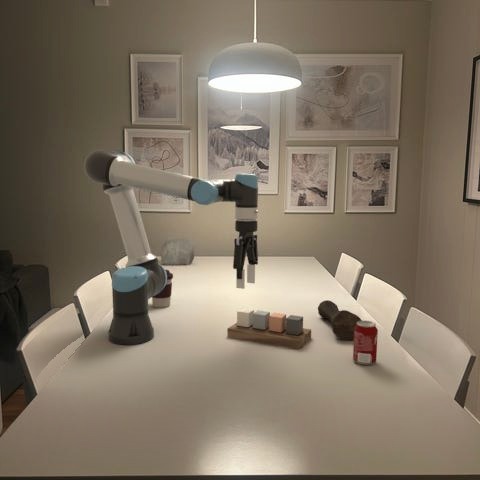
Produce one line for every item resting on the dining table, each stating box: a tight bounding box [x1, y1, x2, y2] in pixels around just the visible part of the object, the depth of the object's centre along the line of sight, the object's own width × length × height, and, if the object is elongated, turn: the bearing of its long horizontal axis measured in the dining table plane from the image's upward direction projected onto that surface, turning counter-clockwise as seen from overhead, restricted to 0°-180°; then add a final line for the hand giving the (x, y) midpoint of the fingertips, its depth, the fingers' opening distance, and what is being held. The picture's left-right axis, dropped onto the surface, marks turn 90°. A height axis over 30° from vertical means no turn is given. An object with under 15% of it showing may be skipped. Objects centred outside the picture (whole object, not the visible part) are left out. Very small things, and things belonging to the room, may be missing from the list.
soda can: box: [352, 320, 379, 366], centre depth 145 cm, size 7×7×12 cm
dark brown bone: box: [317, 299, 363, 342], centre depth 177 cm, size 11×10×28 cm
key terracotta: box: [269, 312, 287, 332], centre depth 165 cm, size 4×4×5 cm
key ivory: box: [236, 307, 255, 327], centre depth 170 cm, size 4×4×5 cm
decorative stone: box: [160, 236, 195, 266], centre depth 294 cm, size 17×20×10 cm
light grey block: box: [253, 310, 271, 330], centre depth 168 cm, size 4×4×5 cm
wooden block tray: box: [226, 322, 312, 350], centre depth 167 cm, size 12×26×3 cm, turn 65°
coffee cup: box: [151, 268, 174, 309], centre depth 204 cm, size 10×10×15 cm
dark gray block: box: [286, 314, 304, 335], centre depth 163 cm, size 4×4×5 cm
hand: (245, 285), depth 169 cm, fingers open, 8 cm apart
